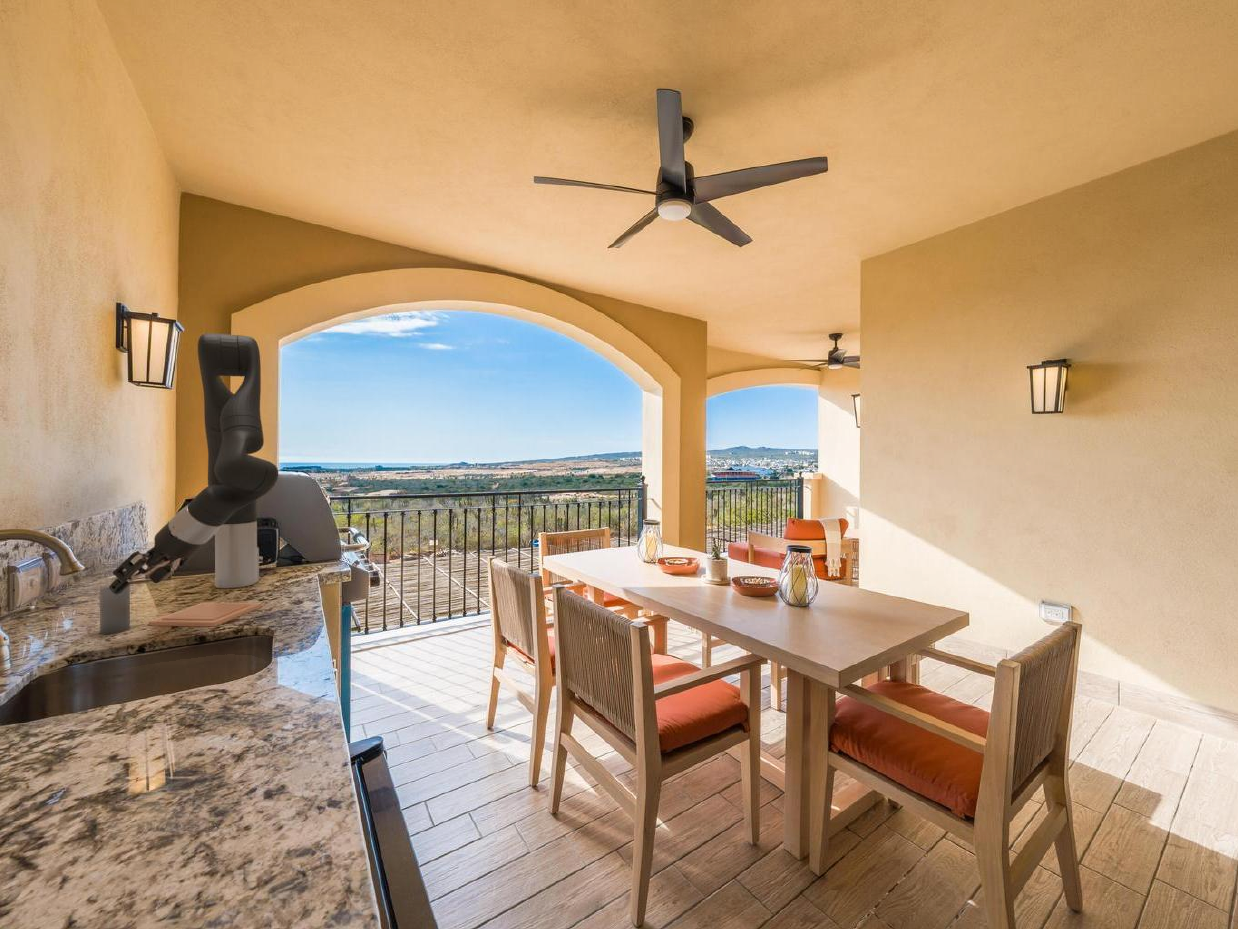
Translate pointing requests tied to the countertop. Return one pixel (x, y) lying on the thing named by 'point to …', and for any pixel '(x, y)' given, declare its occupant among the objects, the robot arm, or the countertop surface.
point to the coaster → (205, 614)
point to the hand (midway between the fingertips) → (134, 585)
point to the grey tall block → (114, 609)
